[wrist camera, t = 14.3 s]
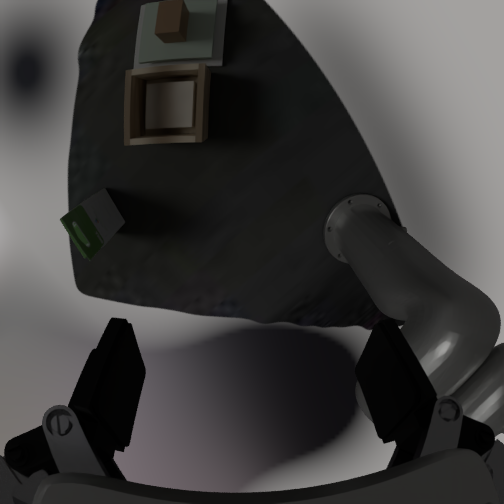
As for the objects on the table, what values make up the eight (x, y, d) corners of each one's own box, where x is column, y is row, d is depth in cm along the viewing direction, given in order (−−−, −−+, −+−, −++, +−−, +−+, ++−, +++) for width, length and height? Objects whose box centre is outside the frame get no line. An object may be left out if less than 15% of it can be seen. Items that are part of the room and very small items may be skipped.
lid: (218, 2, 26) (214, -18, 20) (212, 60, 31) (207, 48, 24) (150, 8, 25) (135, -9, 19) (143, 65, 30) (124, 56, 24)
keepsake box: (210, 72, 32) (205, 63, 26) (207, 138, 37) (201, 142, 30) (143, 77, 31) (126, 70, 25) (142, 140, 36) (124, 145, 30)
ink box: (89, 198, 39) (45, 230, 27) (105, 186, 39) (61, 216, 27) (109, 232, 42) (73, 273, 30) (126, 222, 42) (91, 262, 30)
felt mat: (227, -1, 26) (227, -3, 26) (222, 66, 32) (221, 65, 31) (142, 6, 25) (141, 5, 25) (134, 72, 31) (133, 71, 30)
